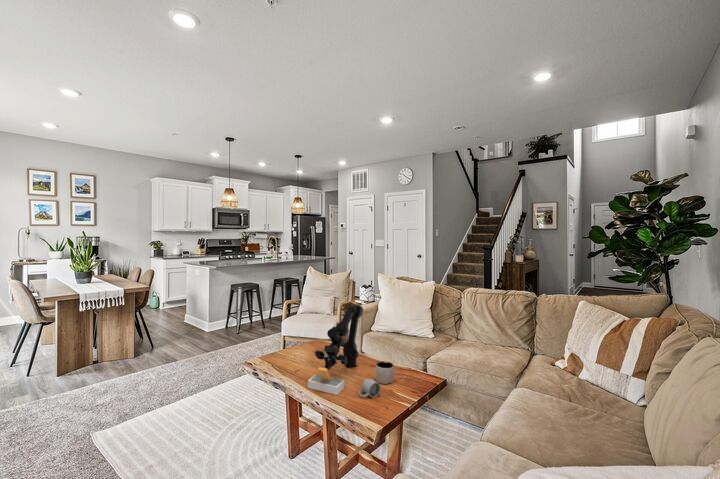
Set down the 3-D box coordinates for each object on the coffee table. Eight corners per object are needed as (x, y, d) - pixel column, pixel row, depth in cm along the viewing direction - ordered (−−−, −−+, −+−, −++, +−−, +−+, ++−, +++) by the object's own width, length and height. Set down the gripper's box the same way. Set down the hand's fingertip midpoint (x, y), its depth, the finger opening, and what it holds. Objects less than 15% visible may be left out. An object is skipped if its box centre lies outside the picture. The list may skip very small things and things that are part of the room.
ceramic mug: (371, 389, 184) (371, 375, 184) (380, 395, 177) (380, 381, 177) (355, 394, 178) (356, 380, 178) (364, 400, 171) (364, 386, 171)
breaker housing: (315, 381, 191) (316, 373, 191) (344, 387, 184) (344, 380, 184) (307, 387, 182) (308, 380, 182) (337, 394, 176) (337, 386, 176)
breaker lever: (322, 376, 184) (319, 366, 180) (330, 378, 182) (327, 368, 178) (321, 379, 183) (318, 369, 179) (329, 381, 181) (326, 371, 177)
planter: (378, 385, 189) (379, 369, 188) (372, 377, 199) (373, 361, 199) (396, 384, 192) (396, 367, 191) (389, 376, 202) (390, 360, 202)
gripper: (316, 336, 190) (306, 362, 180) (346, 341, 183) (337, 368, 173) (322, 345, 198) (312, 370, 188) (351, 351, 191) (342, 377, 181)
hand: (325, 371), depth 182 cm, fingers closed
